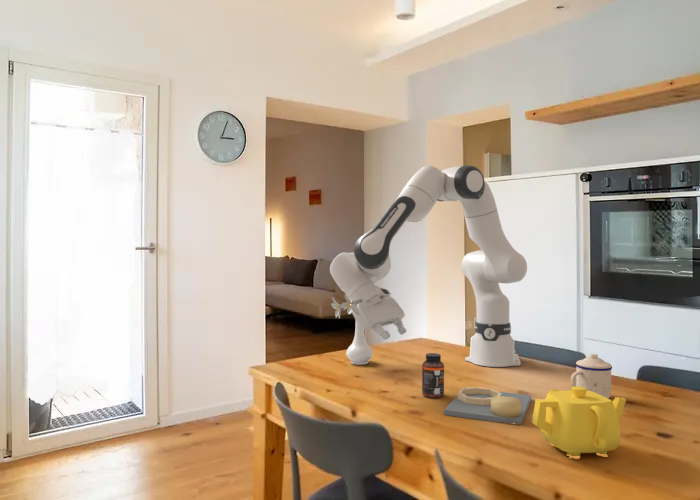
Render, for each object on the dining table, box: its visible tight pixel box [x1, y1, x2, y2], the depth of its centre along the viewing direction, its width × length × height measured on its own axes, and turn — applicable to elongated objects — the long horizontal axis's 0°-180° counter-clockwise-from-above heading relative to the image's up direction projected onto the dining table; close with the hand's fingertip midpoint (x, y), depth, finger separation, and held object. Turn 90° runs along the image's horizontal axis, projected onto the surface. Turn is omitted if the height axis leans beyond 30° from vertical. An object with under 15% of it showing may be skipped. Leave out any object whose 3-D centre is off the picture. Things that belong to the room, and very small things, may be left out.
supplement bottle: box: [421, 352, 445, 399], centre depth 148 cm, size 6×6×11 cm
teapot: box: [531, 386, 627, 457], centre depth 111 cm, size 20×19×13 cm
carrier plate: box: [443, 386, 532, 426], centre depth 138 cm, size 22×18×4 cm
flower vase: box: [330, 293, 374, 366], centre depth 187 cm, size 13×18×25 cm
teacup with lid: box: [570, 353, 613, 399], centre depth 147 cm, size 12×9×12 cm
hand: (396, 335), depth 155 cm, fingers open, 8 cm apart
